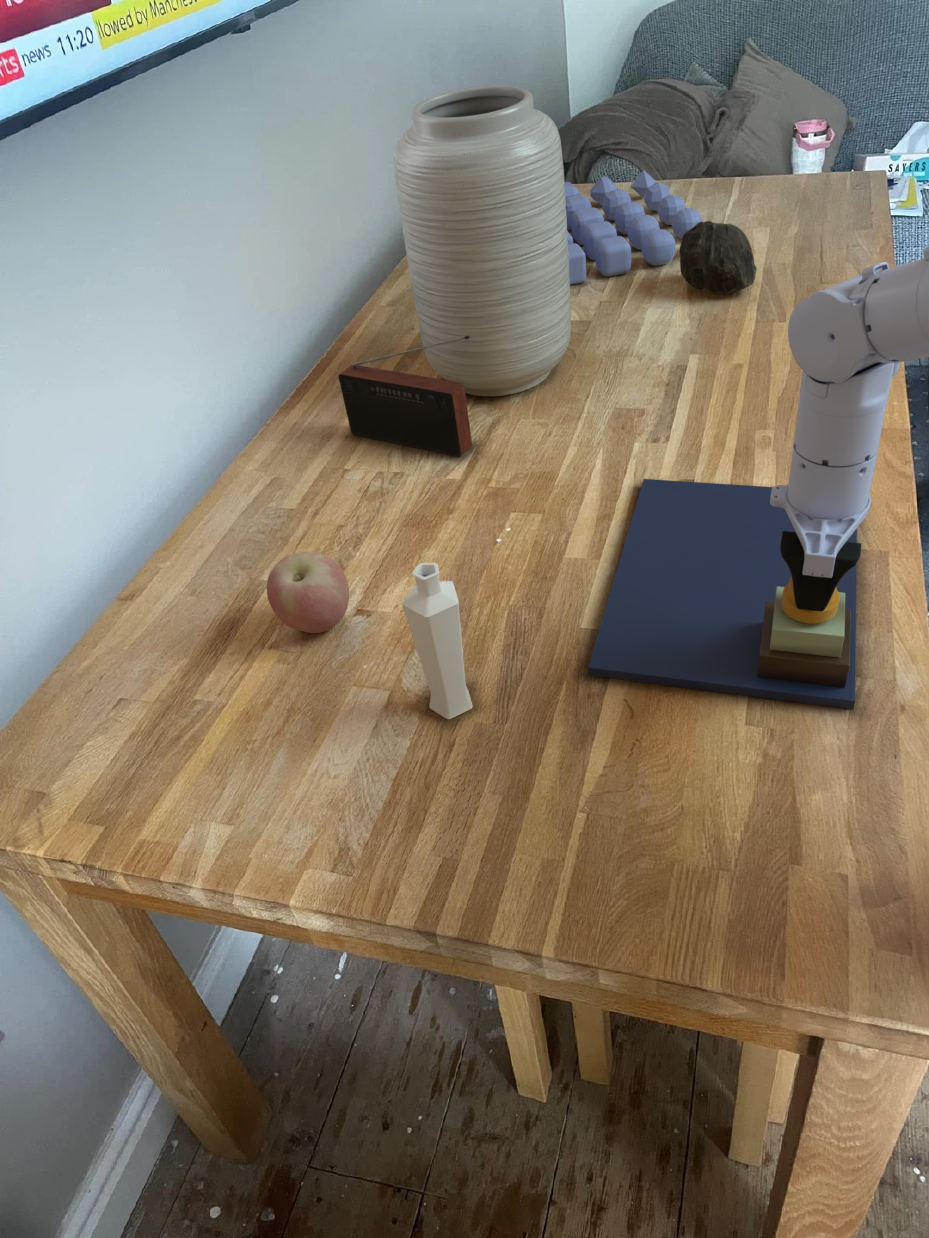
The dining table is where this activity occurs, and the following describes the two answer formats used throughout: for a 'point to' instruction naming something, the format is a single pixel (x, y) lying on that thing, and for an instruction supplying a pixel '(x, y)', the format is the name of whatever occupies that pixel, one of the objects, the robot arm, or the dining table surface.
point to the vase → (486, 237)
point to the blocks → (623, 226)
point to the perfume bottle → (438, 639)
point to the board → (705, 594)
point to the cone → (807, 615)
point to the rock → (717, 258)
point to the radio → (406, 408)
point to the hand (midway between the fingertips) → (812, 590)
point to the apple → (308, 592)
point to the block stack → (805, 646)
